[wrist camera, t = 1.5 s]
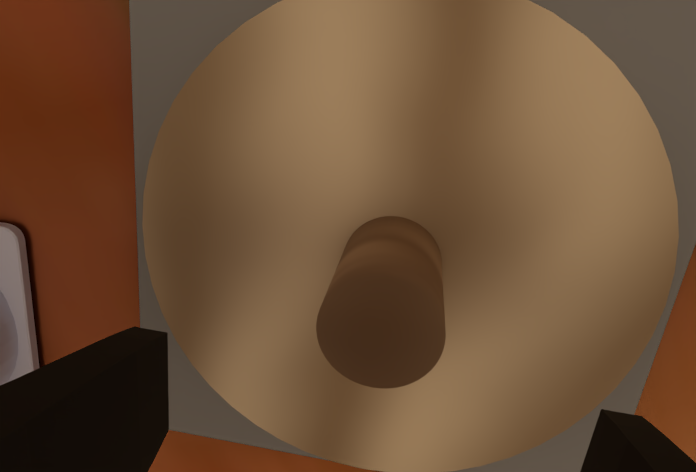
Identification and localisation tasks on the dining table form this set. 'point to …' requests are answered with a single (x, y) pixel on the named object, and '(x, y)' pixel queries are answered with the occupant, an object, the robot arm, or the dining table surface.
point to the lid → (410, 227)
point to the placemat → (568, 3)
